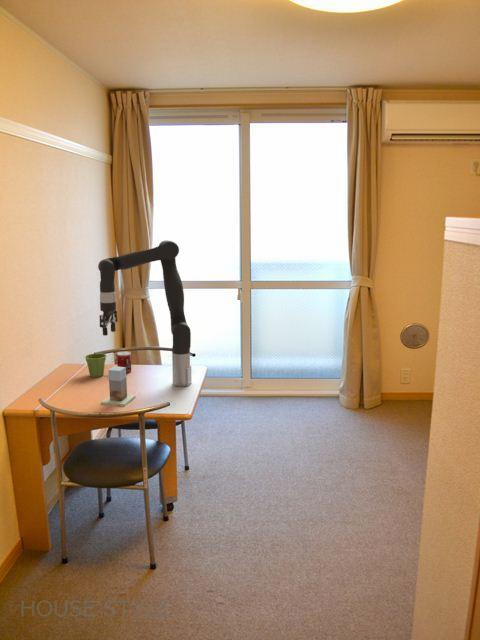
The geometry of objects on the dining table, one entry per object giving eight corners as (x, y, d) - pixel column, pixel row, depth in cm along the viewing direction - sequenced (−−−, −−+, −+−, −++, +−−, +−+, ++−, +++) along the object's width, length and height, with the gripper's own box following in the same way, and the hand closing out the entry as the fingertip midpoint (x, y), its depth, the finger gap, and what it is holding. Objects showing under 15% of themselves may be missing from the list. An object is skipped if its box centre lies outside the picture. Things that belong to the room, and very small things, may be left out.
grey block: (126, 387, 247) (126, 377, 246) (121, 391, 241) (120, 381, 240) (115, 386, 248) (114, 376, 247) (109, 390, 242) (109, 380, 241)
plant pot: (109, 372, 289) (108, 353, 287) (105, 378, 278) (104, 358, 276) (88, 372, 289) (87, 353, 287) (82, 378, 277) (81, 358, 275)
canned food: (121, 374, 285) (120, 355, 283) (115, 371, 291) (114, 352, 289) (134, 372, 290) (133, 353, 288) (127, 368, 296) (126, 350, 294)
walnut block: (127, 397, 248) (126, 387, 247) (121, 401, 242) (121, 391, 241) (115, 396, 249) (115, 386, 248) (109, 400, 243) (109, 390, 242)
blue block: (126, 377, 246) (125, 367, 245) (120, 381, 240) (120, 370, 239) (114, 376, 247) (114, 366, 246) (108, 380, 241) (108, 369, 240)
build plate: (135, 397, 250) (135, 395, 250) (124, 406, 239) (124, 404, 238) (112, 395, 253) (112, 393, 253) (101, 404, 241) (101, 402, 241)
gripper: (108, 303, 241) (109, 337, 244) (121, 298, 255) (122, 330, 258) (93, 303, 243) (95, 336, 246) (107, 298, 256) (109, 329, 260)
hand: (109, 333), depth 252 cm, fingers open, 8 cm apart
